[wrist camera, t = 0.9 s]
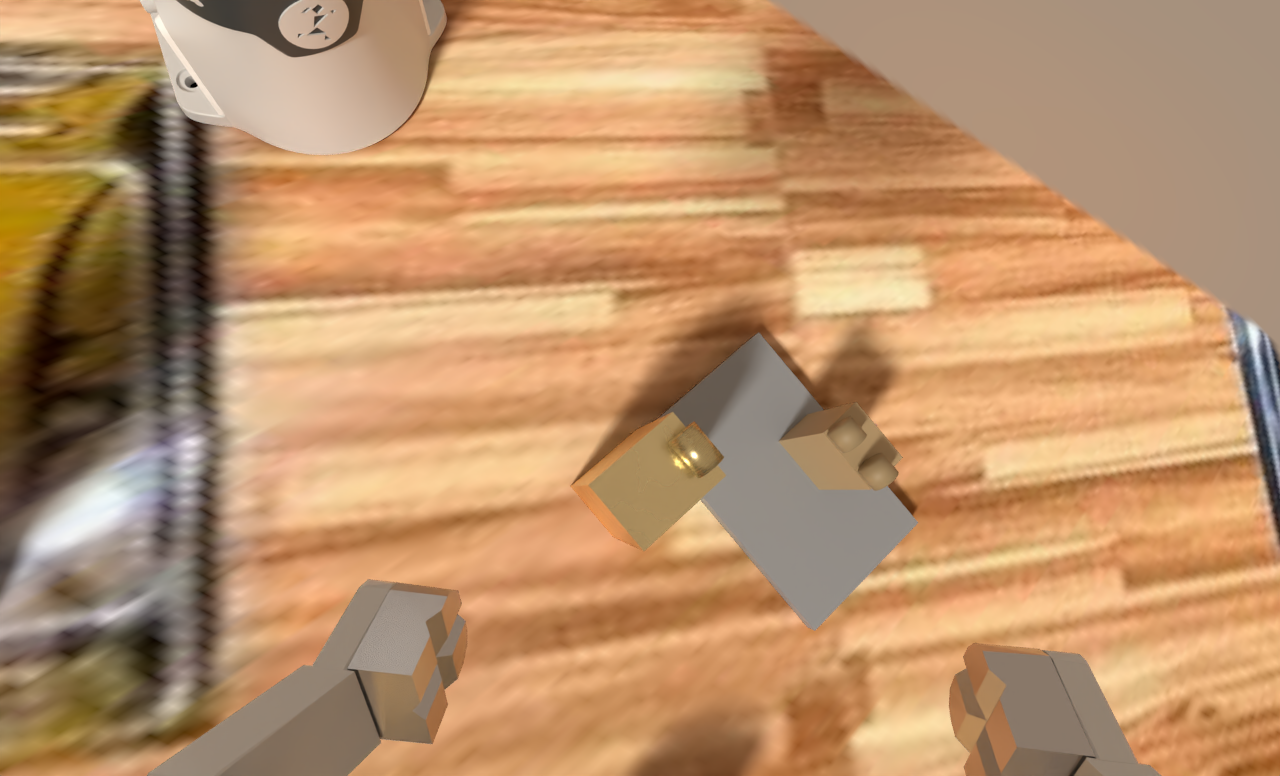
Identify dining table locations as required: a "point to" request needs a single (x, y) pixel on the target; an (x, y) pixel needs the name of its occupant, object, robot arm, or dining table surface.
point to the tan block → (651, 480)
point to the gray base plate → (797, 479)
